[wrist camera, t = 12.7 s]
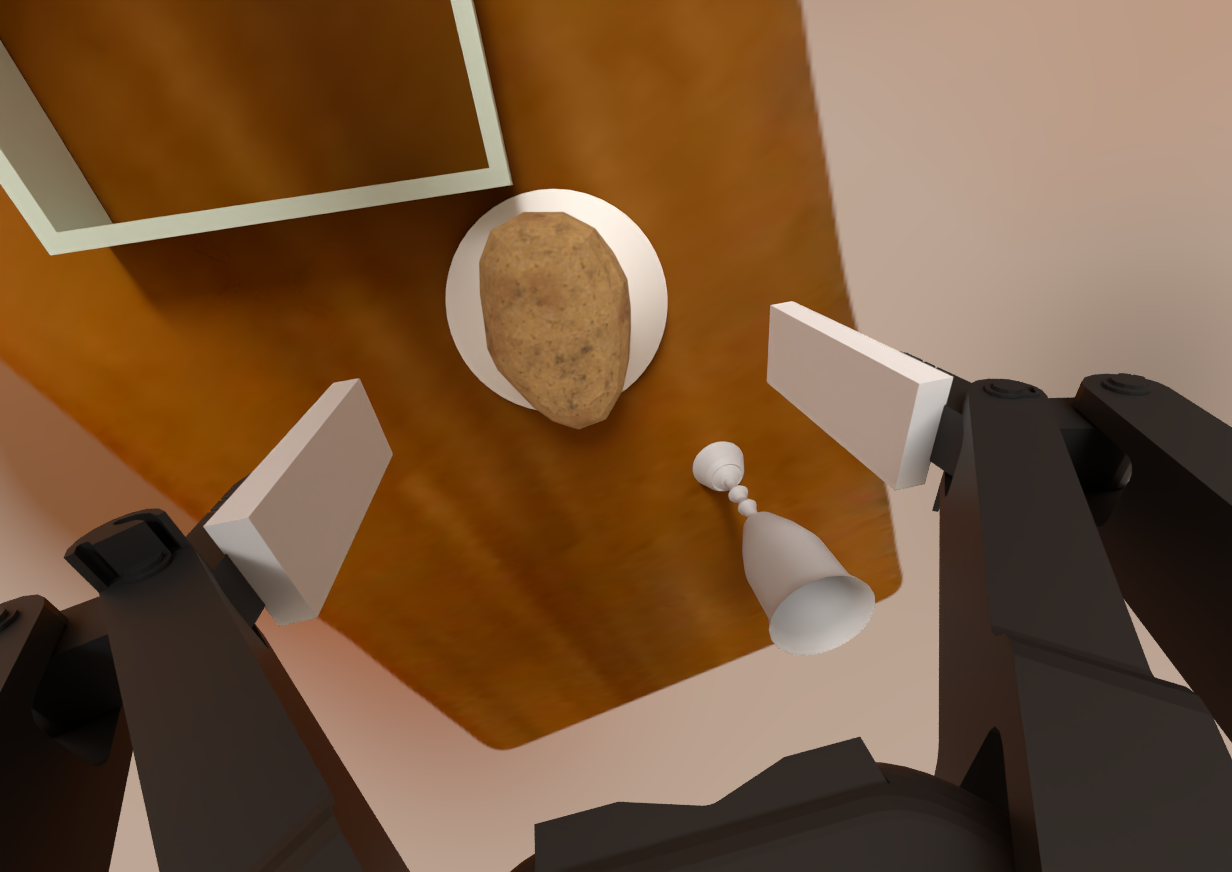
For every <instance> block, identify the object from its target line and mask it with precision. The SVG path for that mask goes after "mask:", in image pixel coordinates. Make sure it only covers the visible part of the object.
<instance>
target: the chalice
mask: <svg viewBox="0 0 1232 872" xmlns="http://www.w3.org/2000/svg"><path fill="white" fill-rule="evenodd" d="M743 460H744V459H743V453H742V452H741V450H740V448H739V447H738V446H736V445H735V444H733V443H730V442H716V443H713V444H710V445H708V446H707V447H705V448H704V449H702V450H701V452H700V453H699V454H698V455H697V456H696V458H695V461H694V463H693V474H694V477H695V478H696V479H697V481H698V482H700V483H701V484H703V485H705V486H707V487H709V488H711V489H713V490H716V491H728V490H729V491H730V492H729V499H730V500H731V501H732V502H735V503H736V502H737V503H738V504H739V507H738V511H739V513H740V514H742V515H745V516H746V517H747V518H748V519H747V520H746V522H745V524H744V527H743V542H742V555H743V562H744V570H745V574H746V578H747V581H748V582H749V584H750V586H751V588H752V590H753V591H754V593H755V595H756V597H757V598H758V600H759V602H760V604H761V606H762V607H763V609H764V611H765V613H766V615H767V616H768V618H769V632H770V636H771V640H772V641H773V642H774V644H775V645H776V646H777V647H778V648H779V649H781V650H783V651H785V652H787V653H789V654H796V655H812V654H820V653H822V652H826V651H829V650H832V649H835V648H837V647H838V646H840V645H842V644H844V643H846V642H848V641H849V640H851V639H852V638H853V637H854V636H855V635H857V634H858V633H859V632H860V631H861V630H862V629H863V628H864V626H865V625H866V624H867V622H868V621H869V620H870V618H871V616H872V613H873V610H874V607H875V597H874V593H873V592H872V590H871V588H870V587H869V585H867V584H866V583H864V582H863V581H861V580H860V579H858V578H856V577H854V576H851V575H849V574H848V573H847V571H846V570H845V569H844V568H843V567H842V565H841V564H840V563H839V562H838V561H837V559H836V558H835V557H834V556H833V554H832V553H831V552H830V551H829V550H828V548H827V547H826V546H825V545H824V544H823V542H822V541H821V540H820V539H819V538H818V537H817V536H816V535H814V534H813V533H811V532H810V531H808V530H806V529H805V528H803V527H801V526H799V525H798V524H796V523H794V522H793V521H790V520H788V519H785V518H782V517H780V516H777V515H774V514H772V513H769V512H758V513H757V510H756V506H757V505H756V502H755V501H753V500H750V499H748V498H747V495H748V490H747V488H746V487H744V486H739V485H738V484H739V483H740V481H741V479H742V478H743V475H744V463H743Z"/></svg>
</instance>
